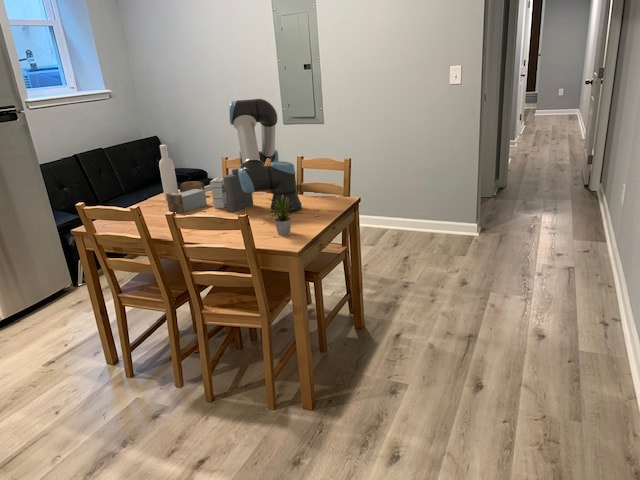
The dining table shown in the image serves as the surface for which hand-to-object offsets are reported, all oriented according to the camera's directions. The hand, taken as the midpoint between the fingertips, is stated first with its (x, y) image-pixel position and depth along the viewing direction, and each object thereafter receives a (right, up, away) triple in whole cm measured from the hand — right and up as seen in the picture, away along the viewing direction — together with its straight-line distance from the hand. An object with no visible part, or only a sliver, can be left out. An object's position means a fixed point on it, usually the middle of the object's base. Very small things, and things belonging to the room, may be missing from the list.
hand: (205, 189), depth 270 cm
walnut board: (-12, -12, -13) cm, 21 cm away
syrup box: (+11, -10, -10) cm, 18 cm away
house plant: (+46, -24, -58) cm, 78 cm away
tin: (-10, -2, +17) cm, 20 cm away
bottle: (-22, -4, +15) cm, 27 cm away
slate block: (-6, -10, -7) cm, 14 cm away
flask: (+21, -11, -16) cm, 29 cm away
